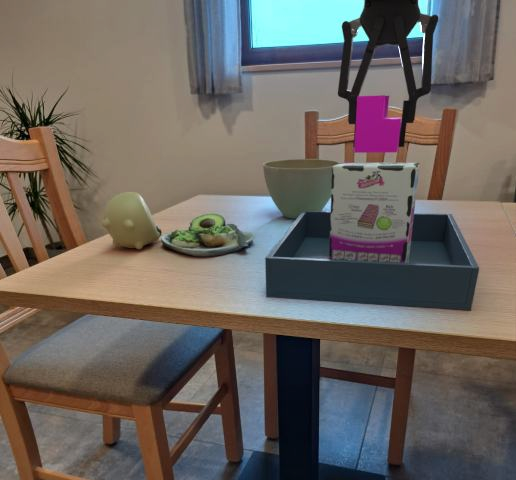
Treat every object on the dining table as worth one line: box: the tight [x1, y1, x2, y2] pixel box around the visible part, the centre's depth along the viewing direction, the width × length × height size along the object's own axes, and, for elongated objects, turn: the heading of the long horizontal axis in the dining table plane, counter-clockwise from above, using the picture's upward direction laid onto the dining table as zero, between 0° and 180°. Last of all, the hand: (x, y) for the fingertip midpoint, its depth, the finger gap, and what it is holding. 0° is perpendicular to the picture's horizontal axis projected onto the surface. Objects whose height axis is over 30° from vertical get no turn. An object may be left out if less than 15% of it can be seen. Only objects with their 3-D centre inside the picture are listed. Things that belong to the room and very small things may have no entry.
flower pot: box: [262, 158, 341, 220], centre depth 111 cm, size 18×18×12 cm
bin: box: [264, 210, 480, 311], centre depth 76 cm, size 28×32×6 cm
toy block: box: [353, 94, 402, 154], centre depth 73 cm, size 15×6×8 cm, turn 163°
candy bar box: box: [329, 162, 420, 263], centre depth 66 cm, size 11×5×16 cm, turn 67°
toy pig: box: [101, 191, 163, 250], centre depth 91 cm, size 10×12×11 cm
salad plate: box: [160, 213, 255, 257], centre depth 91 cm, size 19×18×5 cm
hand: (378, 146), depth 75 cm, fingers closed on toy block, 6 cm apart
